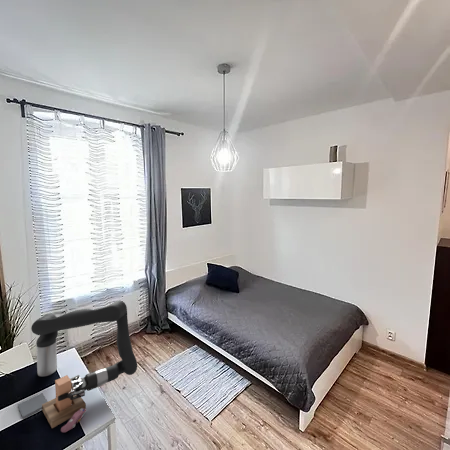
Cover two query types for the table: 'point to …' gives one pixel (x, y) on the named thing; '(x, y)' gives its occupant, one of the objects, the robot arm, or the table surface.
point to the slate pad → (32, 405)
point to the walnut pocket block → (58, 418)
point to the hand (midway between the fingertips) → (57, 394)
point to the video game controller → (73, 420)
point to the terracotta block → (63, 387)
